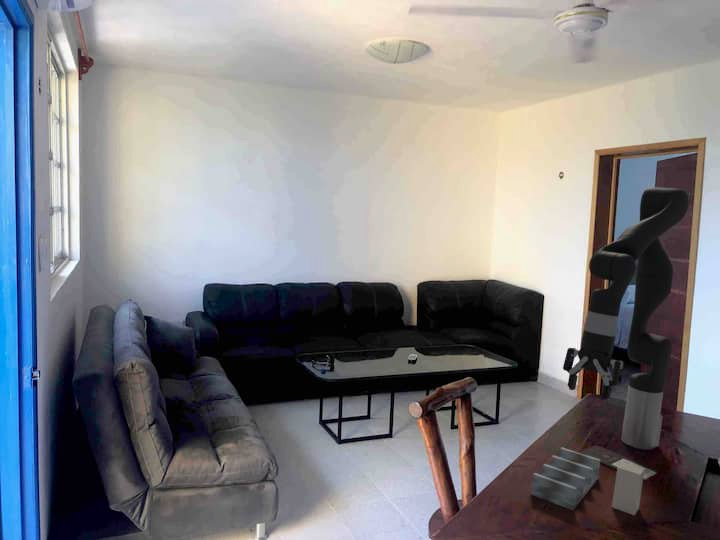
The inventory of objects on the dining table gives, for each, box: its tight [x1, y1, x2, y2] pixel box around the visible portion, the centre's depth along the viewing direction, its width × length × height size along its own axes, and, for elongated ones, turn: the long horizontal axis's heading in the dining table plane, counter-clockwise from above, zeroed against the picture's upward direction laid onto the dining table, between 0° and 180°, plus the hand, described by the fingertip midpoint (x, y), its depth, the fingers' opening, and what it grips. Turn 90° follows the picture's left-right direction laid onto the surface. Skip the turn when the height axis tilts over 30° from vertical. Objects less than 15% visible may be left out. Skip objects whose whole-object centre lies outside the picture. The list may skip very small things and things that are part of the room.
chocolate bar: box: [578, 444, 660, 482], centre depth 161 cm, size 9×1×18 cm
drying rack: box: [530, 447, 601, 511], centre depth 146 cm, size 10×20×5 cm, turn 143°
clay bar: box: [611, 462, 644, 516], centre depth 137 cm, size 5×4×10 cm
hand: (587, 394), depth 147 cm, fingers open, 8 cm apart
